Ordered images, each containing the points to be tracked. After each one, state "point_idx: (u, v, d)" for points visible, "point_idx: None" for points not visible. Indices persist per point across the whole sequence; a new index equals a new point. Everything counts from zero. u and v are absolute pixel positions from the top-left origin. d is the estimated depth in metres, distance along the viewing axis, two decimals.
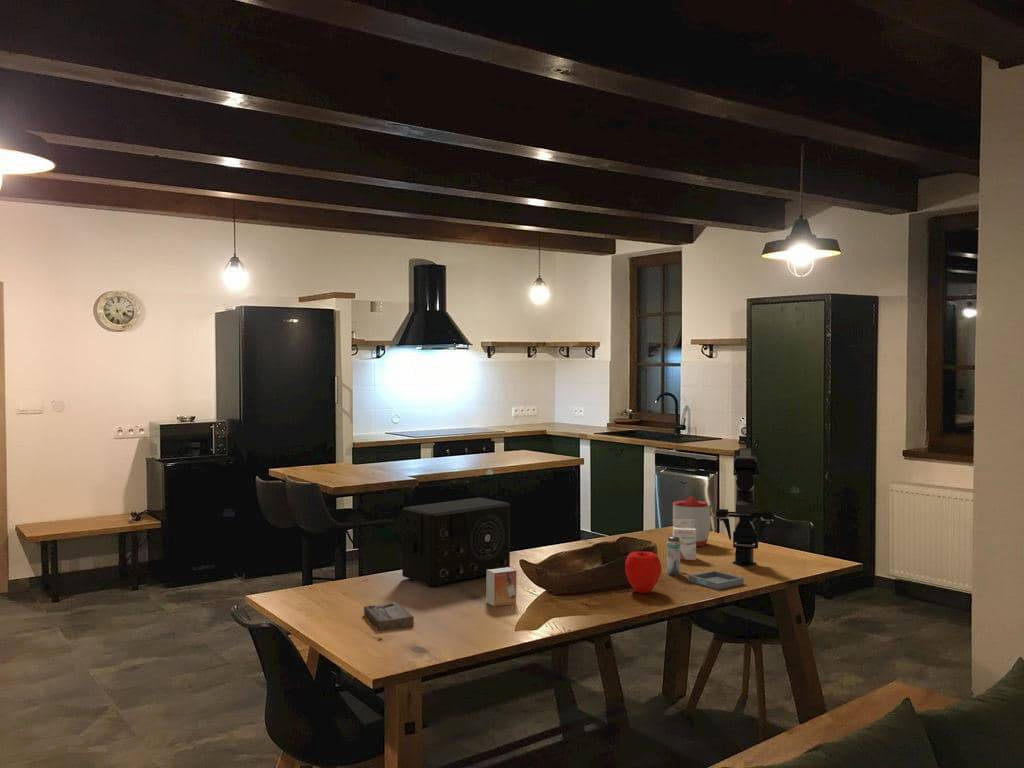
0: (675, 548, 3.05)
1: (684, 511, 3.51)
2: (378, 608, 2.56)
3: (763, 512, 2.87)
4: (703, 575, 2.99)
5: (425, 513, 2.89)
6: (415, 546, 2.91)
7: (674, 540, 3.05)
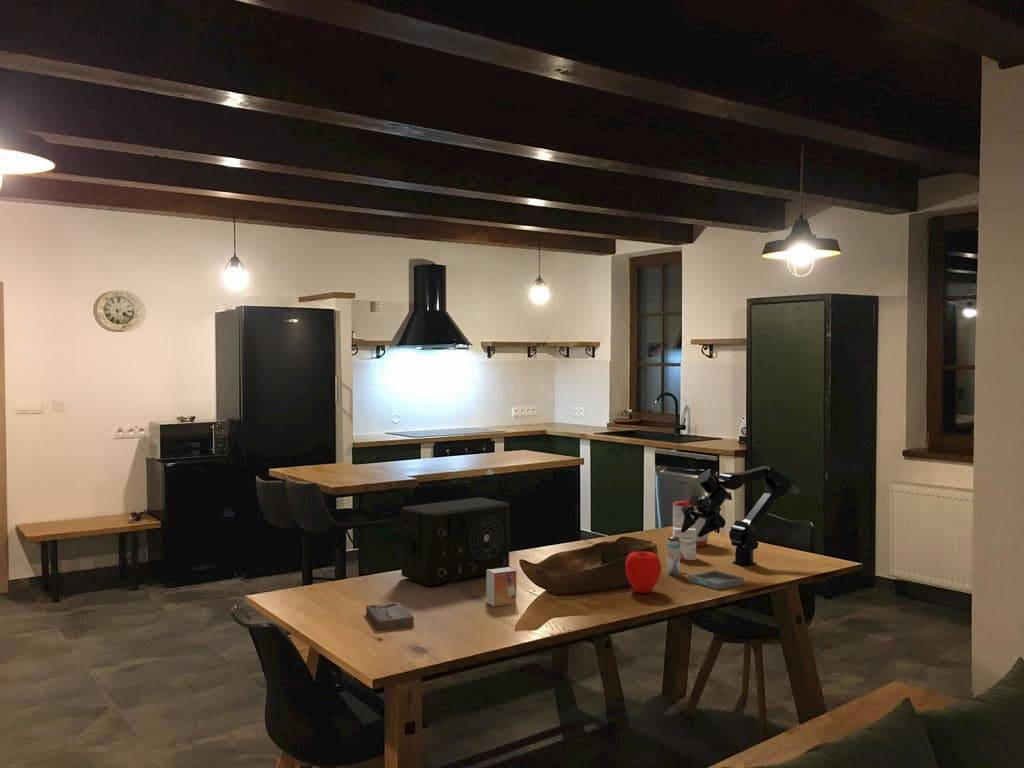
0: (674, 547, 3.05)
1: None
2: (380, 608, 2.56)
3: (711, 511, 3.07)
4: (703, 575, 2.99)
5: (423, 513, 2.89)
6: (413, 546, 2.91)
7: (674, 540, 3.05)
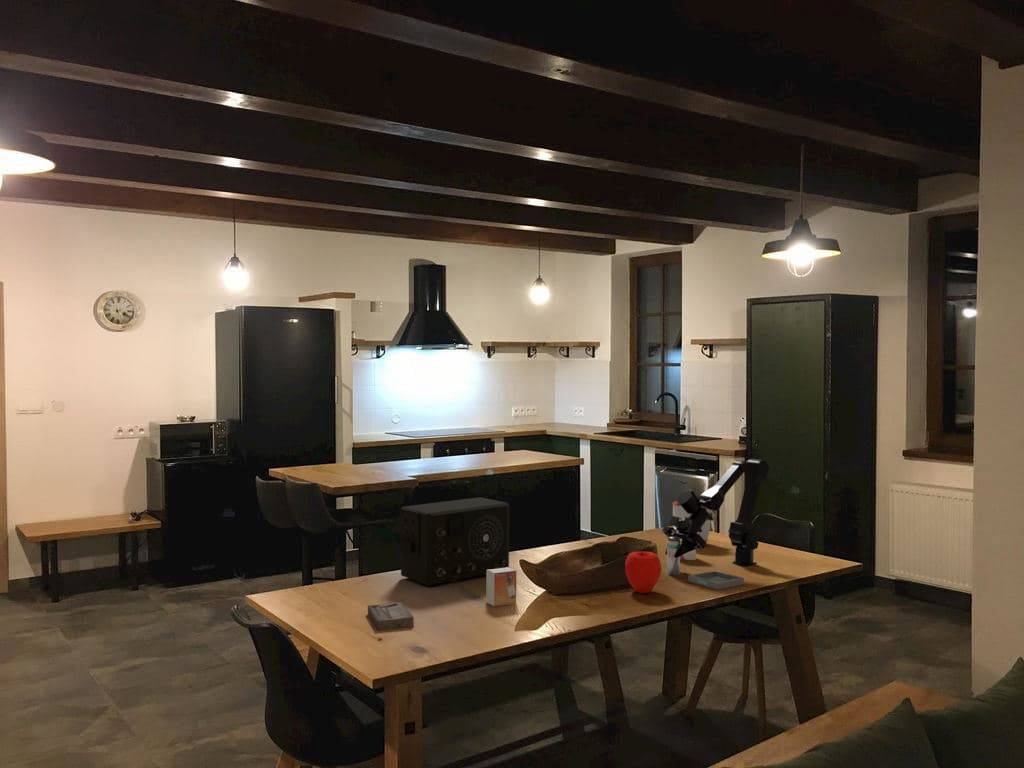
0: (675, 547, 3.05)
1: (684, 511, 3.51)
2: (381, 607, 2.56)
3: (692, 533, 3.03)
4: (703, 575, 2.99)
5: (422, 513, 2.89)
6: (412, 546, 2.92)
7: (674, 540, 3.05)
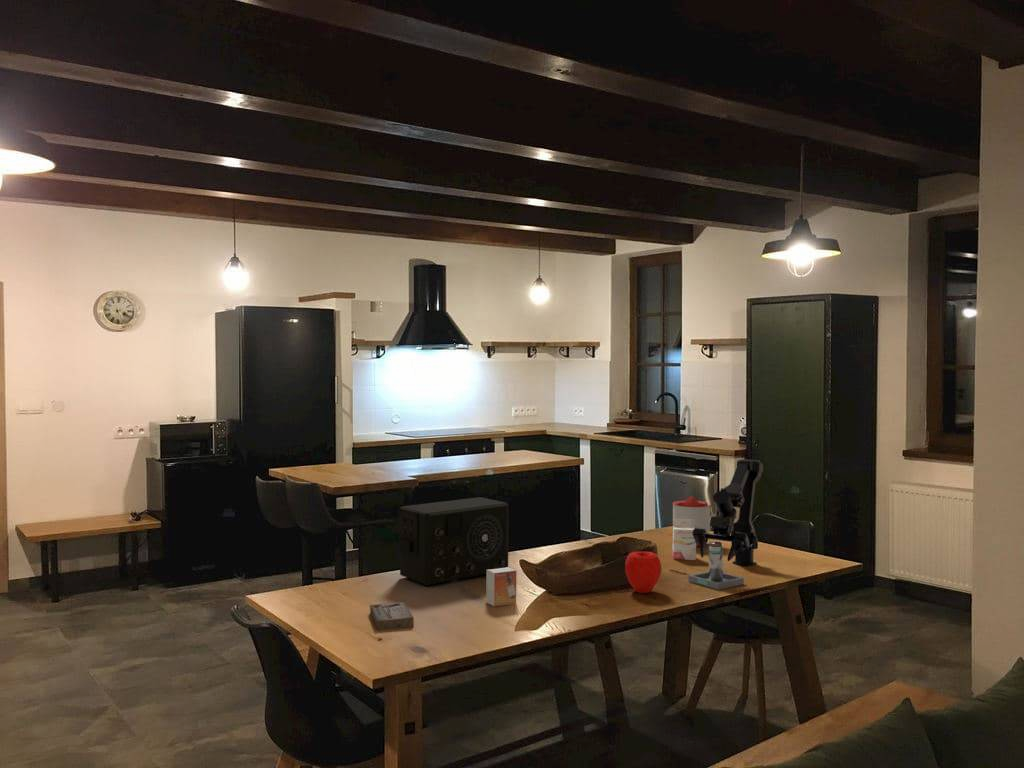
0: (720, 553, 2.93)
1: (684, 511, 3.51)
2: (383, 607, 2.56)
3: (736, 532, 2.94)
4: (703, 575, 2.99)
5: (421, 512, 2.90)
6: (411, 545, 2.92)
7: (719, 545, 2.93)
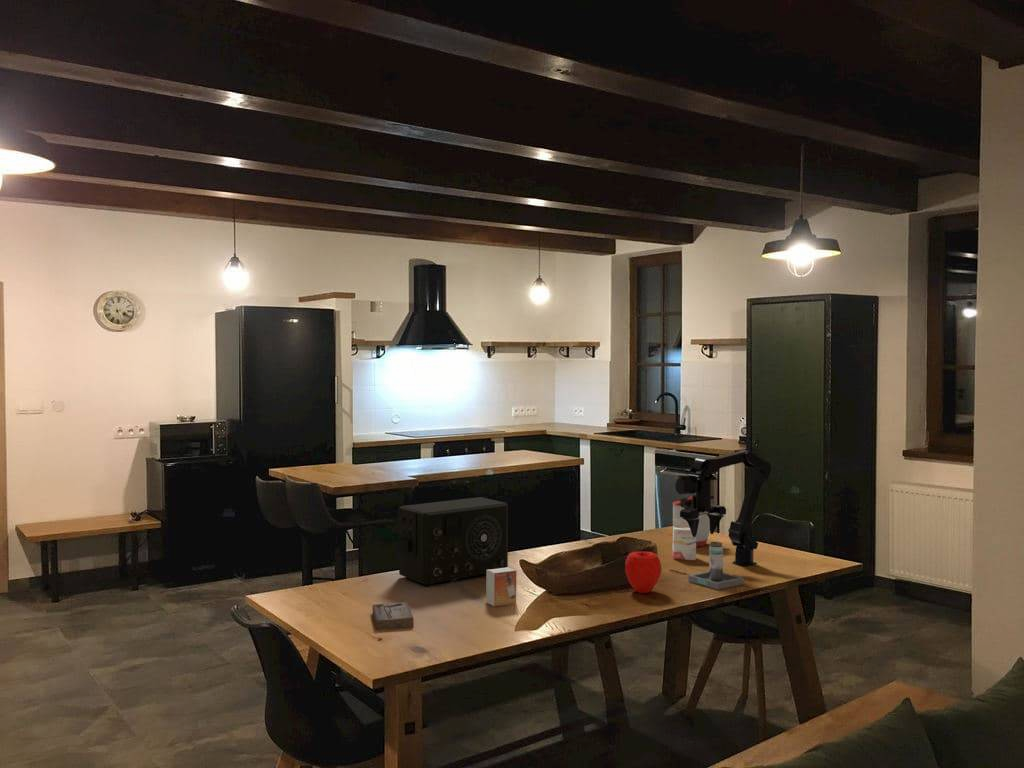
0: (721, 553, 2.93)
1: None
2: (384, 607, 2.57)
3: None
4: (703, 575, 2.99)
5: (419, 512, 2.90)
6: (409, 545, 2.93)
7: (720, 545, 2.93)
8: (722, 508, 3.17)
